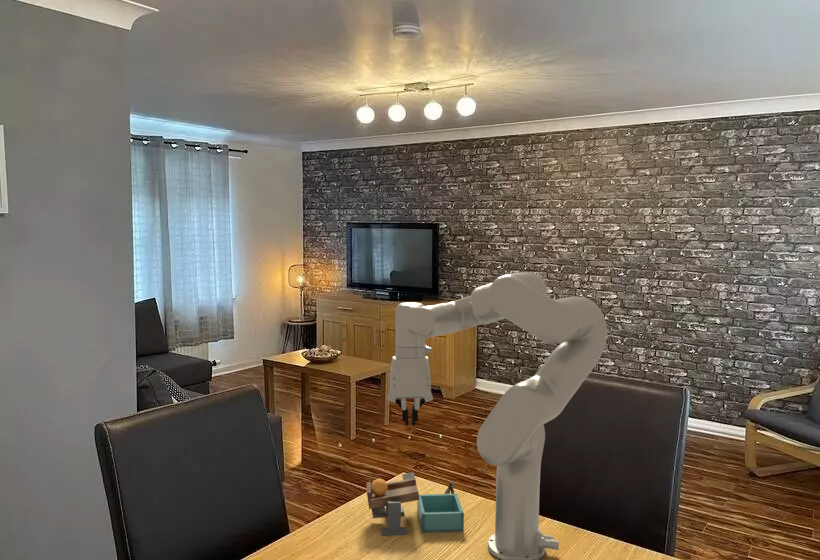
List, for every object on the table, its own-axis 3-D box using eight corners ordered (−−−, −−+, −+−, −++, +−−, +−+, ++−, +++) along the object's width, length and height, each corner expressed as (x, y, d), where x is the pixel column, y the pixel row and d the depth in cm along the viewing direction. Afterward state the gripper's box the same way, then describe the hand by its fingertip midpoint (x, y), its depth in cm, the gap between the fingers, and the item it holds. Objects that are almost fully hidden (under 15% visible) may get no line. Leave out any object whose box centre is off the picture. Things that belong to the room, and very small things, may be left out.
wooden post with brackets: (458, 492, 167) (455, 480, 165) (446, 515, 161) (443, 502, 159) (451, 491, 168) (449, 478, 166) (440, 513, 162) (437, 501, 160)
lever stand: (403, 510, 158) (403, 481, 157) (407, 535, 145) (407, 503, 145) (379, 511, 157) (379, 482, 157) (381, 535, 145) (381, 504, 144)
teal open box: (456, 510, 158) (456, 493, 157) (463, 531, 147) (463, 513, 147) (417, 512, 157) (417, 494, 157) (421, 532, 147) (421, 514, 146)
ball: (390, 491, 152) (388, 476, 151) (385, 499, 148) (383, 483, 148) (374, 491, 153) (373, 475, 152) (369, 498, 149) (367, 482, 149)
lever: (416, 486, 161) (412, 462, 161) (421, 511, 147) (417, 485, 147) (370, 495, 161) (366, 471, 160) (371, 521, 147) (366, 494, 146)
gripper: (439, 348, 160) (438, 418, 161) (379, 349, 159) (378, 420, 160) (443, 355, 152) (442, 428, 154) (380, 355, 151) (379, 429, 153)
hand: (409, 423), depth 157 cm, fingers closed
